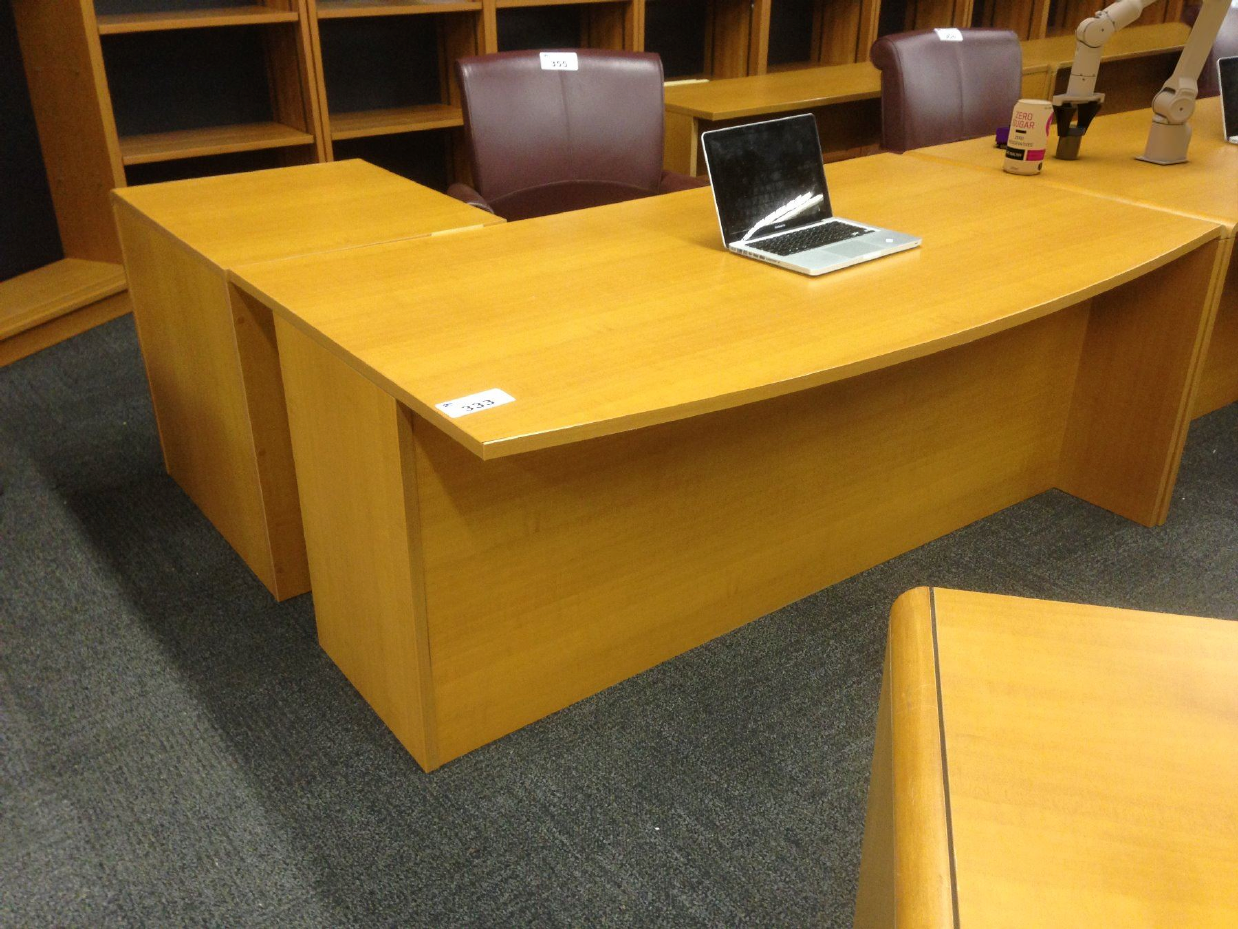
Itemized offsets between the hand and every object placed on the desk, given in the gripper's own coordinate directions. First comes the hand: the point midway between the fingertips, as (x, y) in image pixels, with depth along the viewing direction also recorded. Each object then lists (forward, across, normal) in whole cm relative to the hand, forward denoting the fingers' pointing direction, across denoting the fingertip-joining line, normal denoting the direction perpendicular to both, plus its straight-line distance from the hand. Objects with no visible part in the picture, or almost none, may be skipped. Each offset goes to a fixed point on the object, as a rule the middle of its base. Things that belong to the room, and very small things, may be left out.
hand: (1070, 135), depth 247 cm
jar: (+5, 0, 0) cm, 5 cm away
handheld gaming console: (+5, +1, +16) cm, 17 cm away
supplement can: (+5, -22, -7) cm, 23 cm away
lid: (-2, 0, 0) cm, 2 cm away
